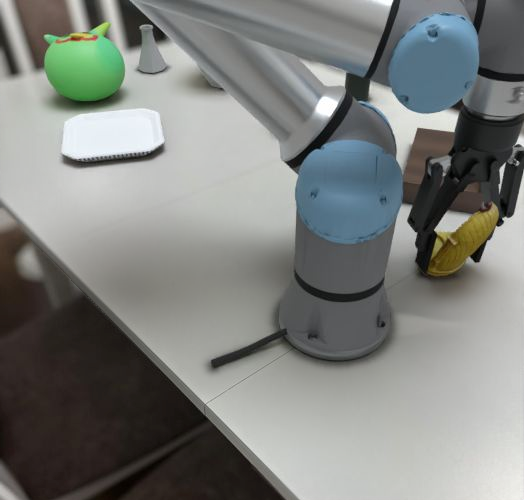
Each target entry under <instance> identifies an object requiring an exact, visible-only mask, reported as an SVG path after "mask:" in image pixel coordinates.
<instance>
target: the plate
mask: <svg viewBox="0 0 524 500" xmlns="http://www.w3.org/2000/svg"><path fill="white" fill-rule="evenodd" d="M165 144H166V142H165V137H164V131H163V125H162V119H161V114H160V113H159V112H158V111H156V110H152V109H149V108H146V107H140V108H129V109H119V110H109V111H100V112H88V113H87V112H86V113H79V114H77V115H75V116H73V117H71V118H68V119H67V120H65V121H64V122H63V129H62V137H61V146H60V154H61V156H62V157H65V158H68V159H71V160H74V161H79V162H82V163H83V162H84V163H93V162H103V161H111V160H120V159H130V158H139V157H145V156H146V155H148V154H150V153H153V152H154V151H156V150H157V149H159V148H161V147H163V146H164V145H165Z"/></svg>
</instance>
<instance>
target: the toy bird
mask: <svg viewBox="0 0 524 500" xmlns="http://www.w3.org/2000/svg"><path fill="white" fill-rule="evenodd" d="M111 25H112V24H111V22H110V21H106V22H103V23H101V24H99V25H98V26H96V27H95V28H93V29H91V30H90V31H81V32H72V33H71V32H70V33H67V34H64V35H62V36H60V37H59V36H56V35H53V34H44V35H43V38H44V40H45V41H46V43H48V45H49V46H48V47H47V50H46V52H45V55H44V60H43V61H44V62H43V66H44V67H43V68H44V73H45V75H46V76H45V77H46V78H47V80H48V82H49V84H50V85H51V87H53V89H54V90H55V91H56V92H57V93H59V94H60V95H62V96H63V97H65V98H67V99H70V100H73V101H77V102H97V101H101V100H103V99H106V98H109V97H110V96H112V95H114V94H115V93H116V92H118V90H119V89H120V88H121V87H122V85H123V83H124V80H125V76H126V64H125V59H124V57H123V55H122V53H121V51H120V49H119V48H118V46H116V44H115V43H114V42H113V41H111V40H110V39H108V38H107V37H105V36H106V34H107V32H108V30H109V29H110V27H111Z"/></svg>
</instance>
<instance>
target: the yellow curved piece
mask: <svg viewBox="0 0 524 500" xmlns="http://www.w3.org/2000/svg"><path fill="white" fill-rule="evenodd" d="M472 214H473V215H470V217H469V218H467V220H465V221H464V222H463V223H461V225H460V226H458V227H457V228H456V230H455V231H453V232H452V231H440V230H439V231H438V230H436V231H435V230H434V231H435V232H436V233H437V234H438V235H437V238H436V242H435V246H434V249H433V253H432V257H431V260H430V264H429V267H428V271H427V272H422V270H421V269H420V268H419V266H418V265H417V267H418V269H419V270H420V271H421V272H422V274H423V275H425V276H426V277H431V278H446V277H450V276H452V275H454V274H455V273H457V272H458V271H459V270H460V269H461V268H462V267H463V265H464V264H466V262H467V260H468V259H469V258H470V257H469V256H470V255H471V254H473V253H474V252H475V251H476V250H477V249H478V248H479V246H480V245H481V244H482V243H483V242H484V241H485V240H486V239H487V238H488V236H489V235H490V234H491V232H492V231H493V229H494V228H495V225H496V223H497V220H498V217H499V212H498V208H497V206H496V205H495V204H494V203H493V202H492V201H489V202H487V203H486V204H485V205H484V204H483V205H482V206H481V208H480V209H479V210H478V211H477V213H472ZM495 229H496V228H495ZM416 250H417V251H418V249H417V248H416ZM417 251H416V252H417Z"/></svg>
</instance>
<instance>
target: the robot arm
mask: <svg viewBox="0 0 524 500" xmlns="http://www.w3.org/2000/svg"><path fill="white" fill-rule="evenodd" d="M129 2H131V4H133V5H134V6H135V7H136V8H137V9H138V10H139V11H140V12H141V13H142V14H143V15H145V16H146V17H147V18H148V20H150V21H151V22H152V23H153V24H154V25H155V26H156V27H157V28H159V30H160V31H161V32H162V33H164V35H166V36H167V37H168V38H169V39H170V40H171V41H172V42H173V43H174V44H175V45H176V46H177V47H179V49H181V50H182V51H183V52H184V53H185V54H186V55H187V56H188V57H189V59H191V60H192V61H193V62H195V64H196V65H197V64H198V65H199V66H200V67H201V68H202V69H203V70H204V71H205V72H206V73H207V74H209V75H210V76H211V77H212V78H213V79H214V80H215V81H216V82H217V83H218V84H219V85H220V86H221V87H222V88H221V89H223V90H224V91H225V92H226V93H227V94H228V95H230V96H231V97H232V98H233V100H235V101H236V102H237V103H238V104H239V105H240V106H241V107H243V108H244V109H245V110H246V111H247V112H248V113H249V114H250V115H251V116H252V117H253V118H254V119H255V120H256V121H257V122H258V123H259V124H260V125H261V126H263V127H264V128H265V129H266V130H267V131H268V132H269V133H270V134H271V135H272V136H273V137H274V138H275V139H277V141H278V143H279V156H280V159H281V161H282V162H283V163H284V164H286V166H288V167H289V168H290V169H291V170H292V171H293V172H294V173H295V174H296V175H297V179H296V182H295V188H294V201H295V207H296V209H295V234H294V255H293V256H294V257H293V260H294V261H293V274H292V276H291V278H290V280H289V282H288V284H287V287H286V289H285V291H284V294H283V296H282V297H281V300H280V303H279V308H278V324H279V328H280V330H277V331H276V332H273V333H271V334H269V335H267V336H265V337H263V338H261V339H259V340H257V341H254V342H253V343H251V344H249V345H247V346H244V347H242V348H240V349H237V350H234V351H232V352H229V353H226V354H223V355H221V356H218V357H214V358H212V359H210V363H211V365H212V367H216V366H219V365H221V364H224V363H227V362H230V361H233V360H236V359H238V358H241V357H243V356H245V355H248V354H250V353H252V352H255V351H256V350H258V349H260V348H262V347H264V346H266V345H268V344H270V343H273V342H274V341H276V340H278V339H281V338H283V337H284V338H285V339H286V340H287V341H288V343H290V345H292V346H293V347H294V348H296V349H297V350H299V351H300V352H302V353H305V354H306V355H309V356H312V357H314V358H318V359H322V360H329V361H347V360H348V361H349V360H355V359H358V358H361V357H364V356H367V355H368V354H370V353H372V352H374V351H376V349H378V348H379V347H380V346H381V345H382V344H383V342H384V341H385V340H386V338H387V335H388V333H389V329H390V324H391V320H392V319H391V309H390V304H389V298H388V293H387V289H386V284H385V280H386V273H387V269H388V265H389V261H390V260H389V259H390V255H391V249H392V245H393V239H394V234H395V229H396V223H397V218H398V215H399V214H400V213H399V212H400V209H401V207H402V205H403V202H402V199H403V175H404V174H403V171H402V168H401V165H400V163H399V162H398V160H397V154H398V148H397V141H396V136H395V133H394V130H393V128H392V126H391V123H390V121H389V119H388V118H387V117H386V115H385V114H384V113H383V112H382V111H381V110H380V109H379V108H377V107H376V106H375V105H373V104H371V103H368V102H367V101H366V102H363V101H357V100H356V99H355V98H354V97H353V96H352V95H351V94H350V93H349V92H348V91H347V90H346V89H345V86H343V85H329V86H328V85H325V84H324V83H323V82H322V81H321V80H320V79H319V78H318V77H317V76H316V75H315V73H313V72H312V71H311V69H309V67H308V66H306V65H305V63H303V61H302V60H301V59H300V58H299V57H301V58H303V59H304V58H305V59H307V60H310V61H312V62H316V63H317V64H321V65H325V66H328V67H331V68H333V69H336V70H339V71H342V72H345V73H346V72H348V73H351V74H354V75H357V76H360V77H363V78H366V79H369V80H370V82H371V81H372V82H374V83H376V84H379V85H382V86H385V87H388V88H391V92H392V94H393V95H394V97H395V98H396V100H397V101H398V102H399V103H400V104H401V106H403V107H404V108H406V109H407V110H409V111H411V112H414V113H416V114H422V115H423V114H424V115H429V114H435V113H441V112H443V111H446V110H448V109H449V108H452V107H453V106H455V105H456V104H457V103H459V102H460V101H461V100H462V103H463V104H462V105H461V107H460V108H459V112H458V115H457V120H456V123H455V127H454V130H453V132H454V144H453V146H452V148H451V149H450V151H449V152H448V154H447V156H444V157H441V158H437V159H435V158H434V157H433V156H429V157H428V158H427V159H426V161H425V174H424V177H423V180H422V182H421V185H420V187H419V190H418V193H417V195H416V198H415V201H414V203H413V204H412V206H411V208H410V211H409V213H408V216H407V218H406V223H407V225H409V226H410V228H411V229H412V231H414V233H416V237H415V241H414V245H415V248H416V250H417V249H418V251H416V255H415V259H414V262H415V263H416V265H417V267H418V266H419V267H418V269H419V268H420V269H421V270H422V271H421V270H420V269H419V270H420V271H421V273H423V272H427V271H428V267H429V264H430V260H431V257H432V253H433V249H434V246H435V242H436V238H437V235H438V234H437V233H436V232H435V229H436V228H437V227H438V225H439V224H440V223H441V221H442V219H443V218H444V217H445V215H446V213H447V212H448V210H449V207H450V206H451V204H452V203H453V201H454V200H455V198H456V197H457V196H458V194H459V193H462V192H463V191H464V190H465V188H466V187H467V186H468V184H472V183H475V182H481V186H482V195H483V203H482V205H483V206H484V205H485V204H486V203H487V202H489V201H492V202H493V203H494V204H495V205H496V206H497V208H498V212H499V217H498V220H497V223H496V225H495V228H494V229H493V231H492V232H491V234H490V235H489V236H488V238H487V239H486V240H485V241H484V242H483V243H482V244H481V245H480V246H479V248H478V249H477V250H476V251H475V252H474V253H473V254H471V255H470V256H469V257H468V258H470V259H471V260H472V262H473V263H474V264H478V263H480V262H481V260H482V257H483V255H484V251H485V248H486V246H487V243H488V242H489V241H491V240H492V239H493V236H494V233H495V231H496V227H497V228H500V227H502V226H503V225H504V223H505V220H504V218H506V219H510V218H513V216H514V215H515V212H516V207H517V203H518V198H519V194H520V189H521V185H522V180H523V176H524V146H522V144H520V143H518V140H519V137H520V134H521V132H522V129H523V126H524V0H129ZM198 65H197V66H198ZM449 166H450V168H449V170H448V172H447V173H446V172H445V171H446V169H447V168H448V167H449ZM503 166H504V169H503V175H502V180H501V171H500V169H501V168H502V167H503ZM442 177H444V182H443V184H442V185H441V182H442ZM455 177H456V178H457V179H458V180H459V182H458V181H457V180H456V179H455ZM440 185H441V187H440ZM439 187H440V188H439Z"/></svg>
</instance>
